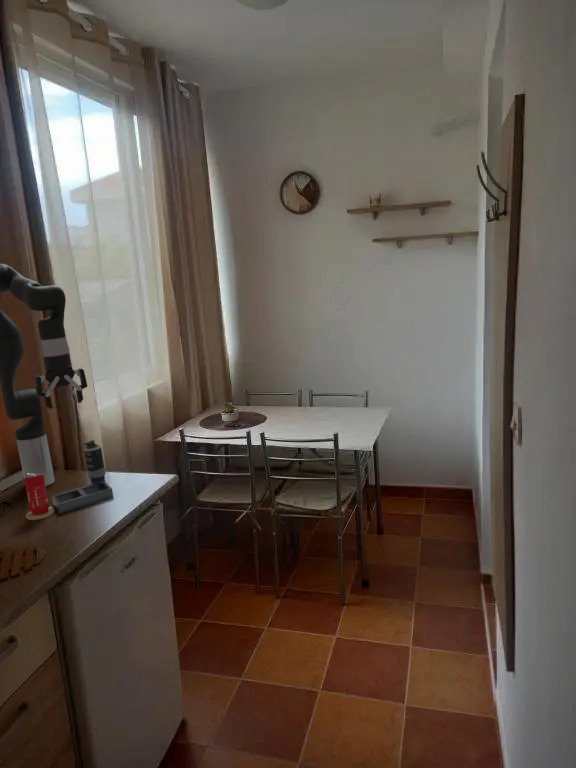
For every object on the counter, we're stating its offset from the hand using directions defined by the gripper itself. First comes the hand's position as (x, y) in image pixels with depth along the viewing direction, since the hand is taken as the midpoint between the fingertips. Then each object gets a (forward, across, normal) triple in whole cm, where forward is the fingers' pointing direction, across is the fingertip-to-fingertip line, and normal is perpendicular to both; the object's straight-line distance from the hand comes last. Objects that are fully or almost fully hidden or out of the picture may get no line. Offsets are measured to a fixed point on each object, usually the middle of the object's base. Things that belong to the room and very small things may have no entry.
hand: (65, 405), depth 166 cm
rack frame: (+30, 0, +4) cm, 30 cm away
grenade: (+30, -7, -9) cm, 32 cm away
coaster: (+30, +13, +4) cm, 33 cm away
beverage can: (+30, +13, +4) cm, 33 cm away
